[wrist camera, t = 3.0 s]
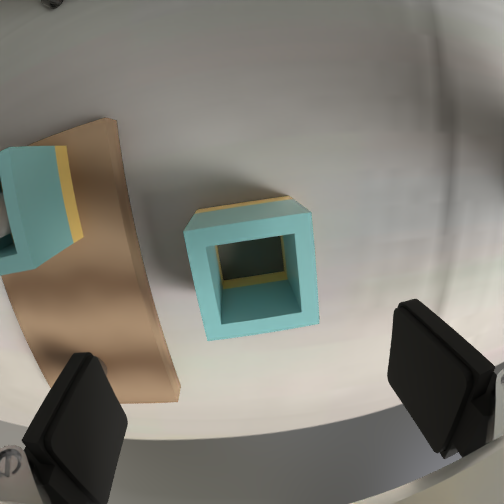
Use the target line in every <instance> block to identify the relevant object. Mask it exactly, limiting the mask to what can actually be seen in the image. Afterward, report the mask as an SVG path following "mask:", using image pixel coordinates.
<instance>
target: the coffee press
mask: <svg viewBox="0 0 504 504" xmlns="http://www.w3.org/2000/svg"><path fill="white" fill-rule="evenodd" d="M62 2H63V0H41V3H42V4H44V5H46V6H48V7H50V8H52V9H54V8H57V7H58V6H59V5H60V4H61V3H62Z"/></svg>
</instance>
